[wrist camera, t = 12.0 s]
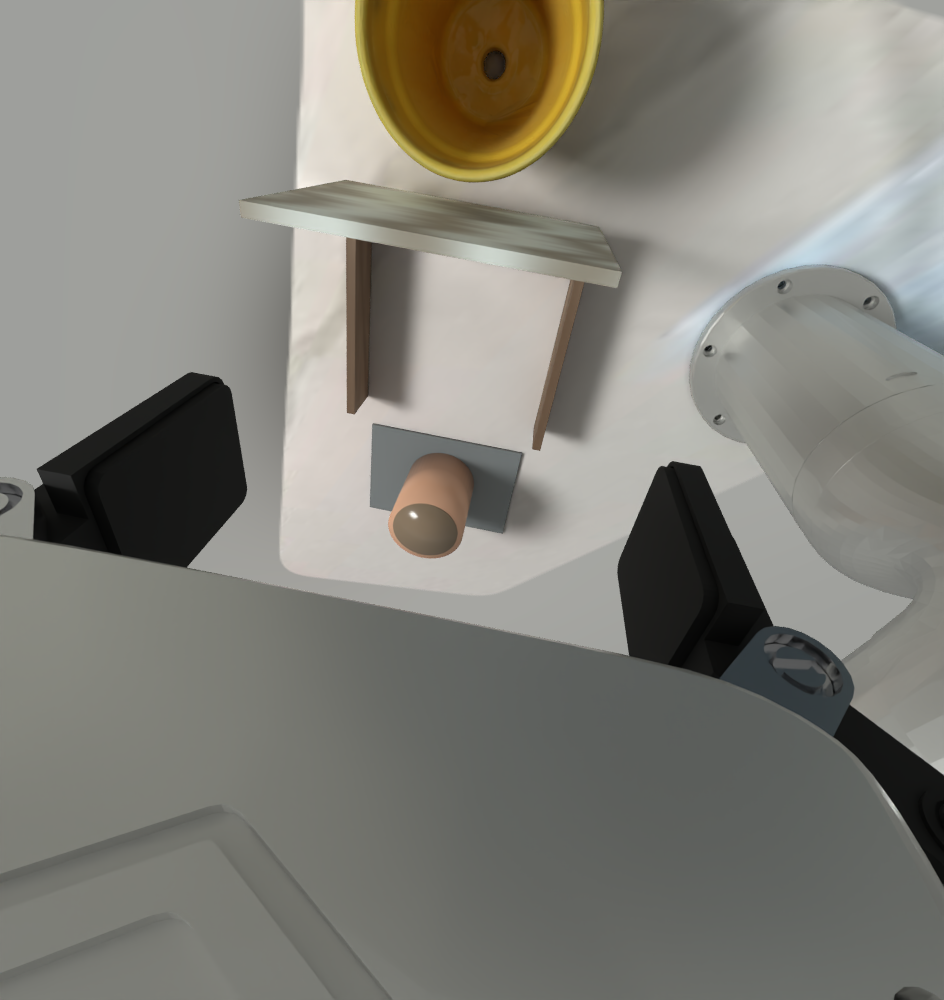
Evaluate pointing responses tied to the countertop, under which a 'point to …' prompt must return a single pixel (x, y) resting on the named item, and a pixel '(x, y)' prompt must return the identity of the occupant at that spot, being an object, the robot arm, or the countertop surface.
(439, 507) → the flowerpot
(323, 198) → the wooden bench
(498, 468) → the potting mat
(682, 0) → the countertop surface
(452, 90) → the plant pot
